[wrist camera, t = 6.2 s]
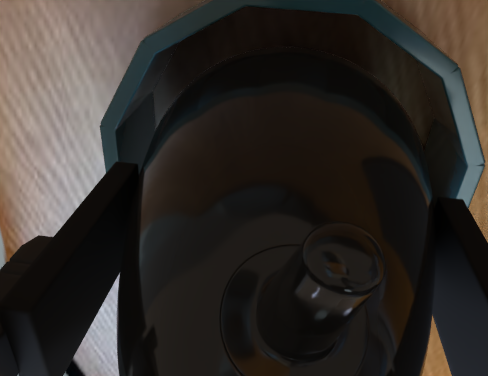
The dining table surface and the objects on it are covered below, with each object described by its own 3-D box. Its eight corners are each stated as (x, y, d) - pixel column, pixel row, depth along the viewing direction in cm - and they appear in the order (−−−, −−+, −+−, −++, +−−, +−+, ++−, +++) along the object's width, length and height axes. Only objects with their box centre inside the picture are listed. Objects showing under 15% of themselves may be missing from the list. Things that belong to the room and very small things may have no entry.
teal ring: (130, -38, 17) (78, -28, 13) (490, -13, 16) (549, 6, 12) (151, 236, 24) (121, 295, 20) (400, 267, 23) (418, 335, 19)
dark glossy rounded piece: (447, 55, 17) (874, 452, 4) (354, 249, 23) (414, 678, 10) (198, -10, 17) (-150, 188, 4) (167, 201, 22) (-24, 567, 10)
